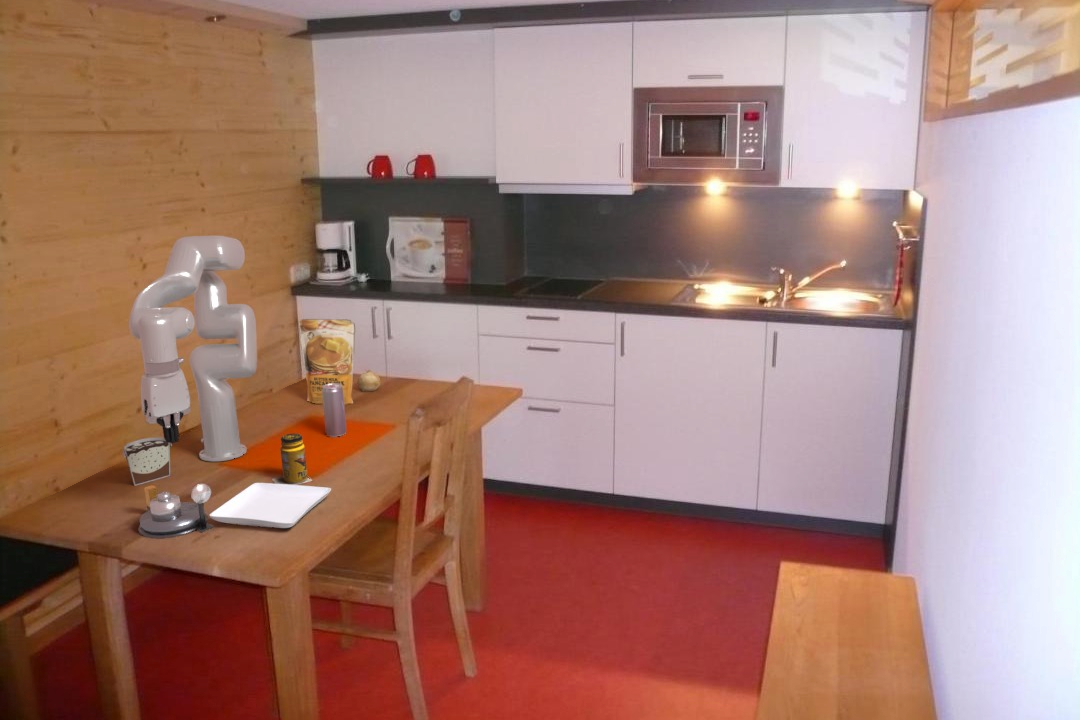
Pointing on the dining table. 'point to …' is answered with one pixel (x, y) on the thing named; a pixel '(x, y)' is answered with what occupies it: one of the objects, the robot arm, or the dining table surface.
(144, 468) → the food container
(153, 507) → the cover
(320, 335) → the pancake mix bag
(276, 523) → the salad plate
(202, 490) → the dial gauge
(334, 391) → the beverage can
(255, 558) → the dining table surface
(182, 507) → the turntable
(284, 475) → the condiment
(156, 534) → the turntable base
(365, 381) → the onion
